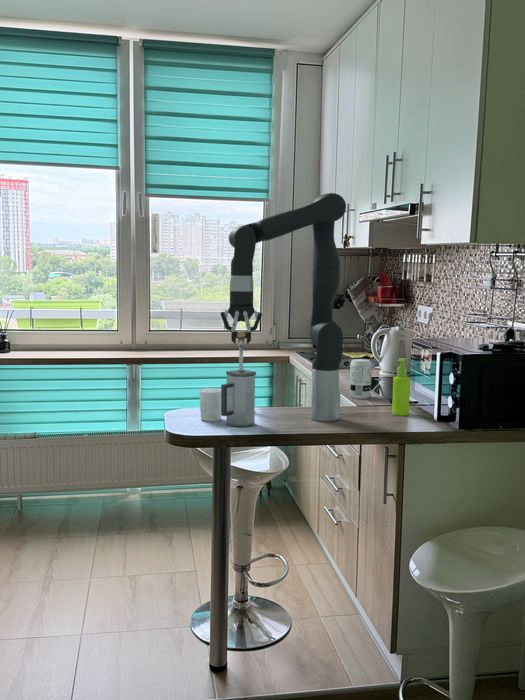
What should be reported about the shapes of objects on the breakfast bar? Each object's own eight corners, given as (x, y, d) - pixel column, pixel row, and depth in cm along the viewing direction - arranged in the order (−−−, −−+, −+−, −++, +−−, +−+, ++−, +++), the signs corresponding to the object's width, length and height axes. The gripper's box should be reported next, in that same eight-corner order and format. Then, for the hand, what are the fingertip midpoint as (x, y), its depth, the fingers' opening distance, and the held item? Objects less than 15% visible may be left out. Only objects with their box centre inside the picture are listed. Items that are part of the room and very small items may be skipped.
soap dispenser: (389, 415, 235) (392, 358, 233) (393, 411, 241) (395, 356, 239) (406, 416, 233) (408, 360, 230) (410, 412, 239) (412, 357, 237)
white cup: (219, 422, 221) (219, 393, 219) (196, 421, 222) (196, 391, 221) (225, 417, 228) (225, 388, 227) (203, 416, 230) (203, 387, 229)
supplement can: (347, 395, 270) (348, 358, 268) (367, 395, 271) (368, 358, 269) (352, 399, 262) (353, 361, 260) (372, 399, 263) (374, 361, 261)
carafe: (243, 419, 226) (244, 368, 224) (262, 424, 219) (263, 371, 217) (213, 425, 217) (213, 372, 214) (232, 430, 210) (232, 375, 208)
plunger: (241, 391, 220) (241, 330, 217) (248, 392, 217) (249, 331, 215) (232, 392, 217) (233, 331, 215) (240, 394, 215) (240, 332, 212)
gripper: (263, 289, 217) (263, 342, 219) (220, 289, 217) (220, 341, 219) (263, 290, 209) (262, 345, 212) (218, 290, 210) (218, 344, 212)
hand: (241, 343), depth 215 cm, fingers closed on plunger, 3 cm apart
